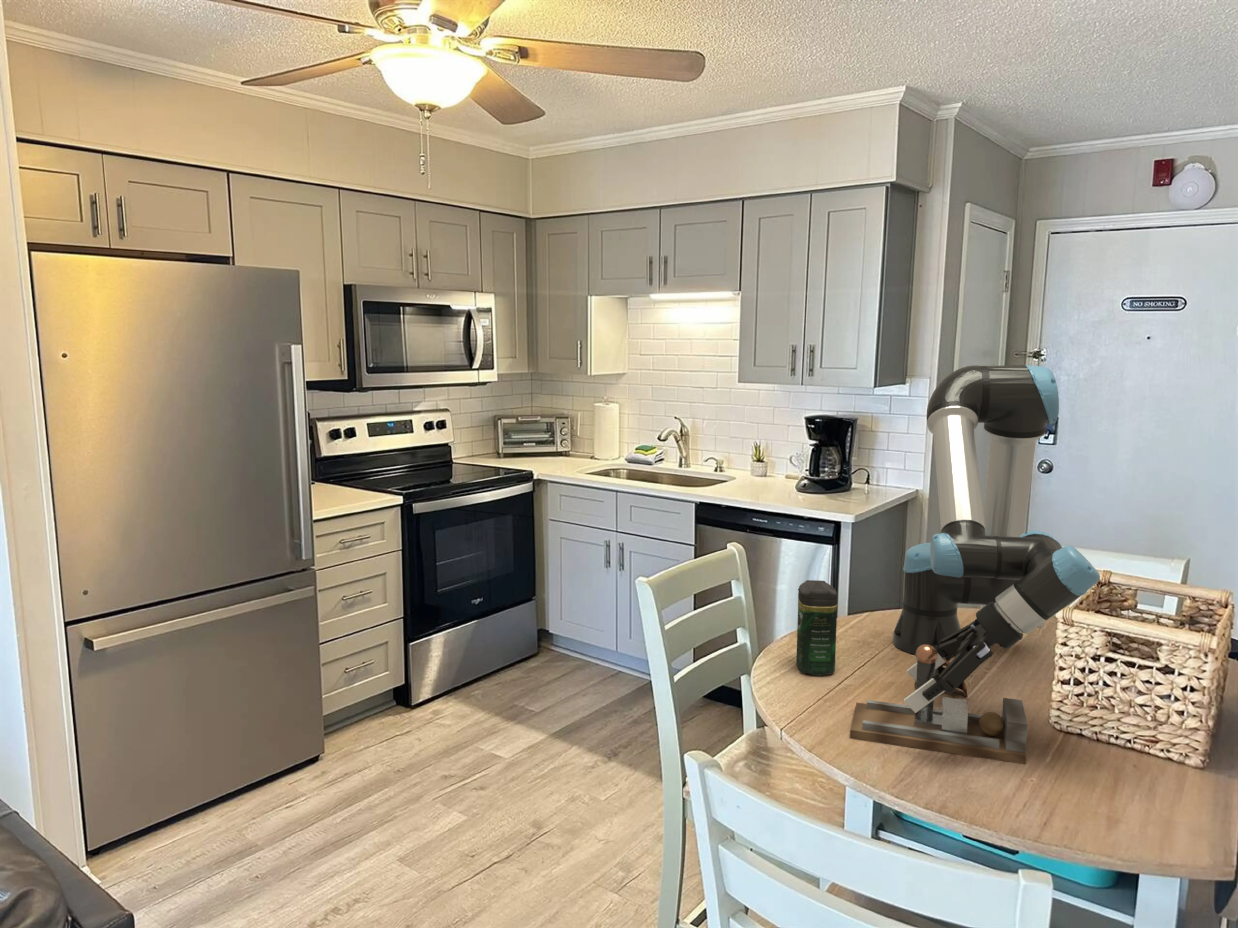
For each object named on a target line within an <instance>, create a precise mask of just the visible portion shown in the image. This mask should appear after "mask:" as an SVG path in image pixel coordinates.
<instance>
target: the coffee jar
mask: <svg viewBox="0 0 1238 928" xmlns="http://www.w3.org/2000/svg"><path fill="white" fill-rule="evenodd" d="M797 590H798V591H797V592H798V593H797V629H796V630H797V631H796V632H797V633H796V634H797V635H796V638H797V639H796V656H795V657H796V658H795V659H796V660H795V661H796V664H797V665H796V666H797V668H798V669H799V671H801V672H802V673H806V674H810V675H812V676H825V675H830V674H833V673H834V672H835V669H836V653H837V652H836V648H837V647H836V646H837V645H836V644H837V643H836V642H837V625H838V620H837V619H838V592H837V590H836V589H835V587H833V586H832V584H829V583H827V581H825V580H816V579H815V580H814V579H813V580H811V579H810V580H809V579H807V580H805V581H804V582H803V583H801V584H800V585H799V586H798V589H797Z"/></svg>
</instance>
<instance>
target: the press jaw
mask: <svg viewBox="0 0 1238 928" xmlns="http://www.w3.org/2000/svg"><path fill="white" fill-rule="evenodd" d="M915 657H916V661H917V662H916V663H917V678H916V690H917V689H918V688H920V687H921V686H923V685H924V684H925V683H927V682H928V681H929V680H931V679H932V676H933V675H935V663H936V660H937V657H938V654H937V651H936V649H935V648H934V647H933V646H931V645H928V644H924V645H921V646H919V647H918V649H917V650H916V654H915ZM916 690H915V691H916ZM941 700H942V701H941V702H942V703H941V710H942V715H936V714H933V709H934V704H935V703H934V701H935V699H934V700H933V701H931V702H930V703H929V704H927V705H926V706H925V707H923V708H922V709H920V710H919V711H918V712H916V713H915V721H914V727H916V728H923V729H930V730H937V731H944V732H951V733H958V734H965V735H967V724H968V713H969V711H968V702H967V701H968V700H967V699H962V698H961V699H960V698H952V697H945V696H943V697H942V699H941Z"/></svg>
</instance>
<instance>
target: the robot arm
mask: <svg viewBox="0 0 1238 928" xmlns="http://www.w3.org/2000/svg"><path fill="white" fill-rule="evenodd" d="M1059 413H1060V396H1059V389H1058V384H1057V380H1056V377H1055V375H1054V373H1053V371H1052V370H1051V369H1050V368H1049V367H1046V366H1043V365H1040V366H1039V365H1029V364H1017V365H1011V364H1010V365H979V364H978V365H977V364H976V365H967V366H963V367H959V368H958V369H956V370H954V371H952V372H951V373H949V374H948V375H946V377H944V378H943V379H942V380H941V381H940V383H939V384H938V385H937V386H936V388H935V389H934V390H933V392H932V394H931V396H930V398H929V400H928V403H927V408H926V426H927V429H928V431H929V432H930V433H931V434H933V435H932V436H933V445H934V446H933V447H934V460H935V471H936V473H935V474H936V484H937V485H936V486H937V497H938V498H937V499H938V508H939V511H938V512H939V520H940V521H939V522H940V533H935V534H933V535H932V537H931V541H930V542H925V543H919V544H916V545H913V546H911V547H910V548H908V550H906V552H905V554H904V555H905V556H904V562H903V563H904V564H903V568H902V571H903V572H904V573H903V586H902V606H901V607H902V608H901V609H902V610H901V612H900V615H899V617H898V620H897V622H896V625H895V627H894V630H893V634H892V643H893V645H894V646H895V647H896V648H897V649H899V650H901V651H904V652H906V653H909V654H912V655H916V650H917V649H918V647H919V646H921V645H924V644H928V645H931V646H933V647H934V648H935V649H936V651H937V654H938V657H937V660H936V663H935V669H937V668H938V667H939V666H941V665H942V664H943V663H945V660H947V661H948V662H950V663H949V665H948V666H947V667H946V666H945V667H944V668H945V669H944V670H943V671H942V672H941V674H940V675H939V676H938V675H937V674H936V675H933V676H932V679H931V680H929V681H928V682H927V683H925V684H924V685H923V686H921V687H920V688H918V689H917V690H914V691H913V692H912V693H910V694H909V695H908V696H906V697H905V698H903V702H904V703H905V705H908V706H909V707H910V708H911V709H912V710H913V711H914V712H915V713H916V712H918V711H919V710H920V709H922V708H923V707H925V706H926V705H927V704H929V703H930V702H931V701H933V700H934V701H935V700H936V699H937V698H939V696H941V695H942V694H944V693H945V692H946V693H948V694H949V695H950V694H952V693H954V692H955V690H957V689H958V688H957V687H958V686H959V685H960V684H961V683H962V682H965V681H966V680H967V679H968V678H969V677H970V676H971V675H972V674H973V673H974V672H975V671H976V670H977V669H978V668H979V667H980V666H981V665H982V664H983V663H985V662H986V661H987V660H988V659H990V658H991V657H992V656H993V654H994V652H993V651H992V650H991V648H992V647H993V646H994V645H995V644H996V645H999V647H1001V648H1003V649H1010V648H1011V647H1013V646H1014V645H1016V644H1017V643H1018V642H1020V641H1021V640H1022V639H1023V636H1024V634H1027V635H1029V633H1031V632H1032V631H1034V630H1035V629H1037V628H1039V629H1042V628H1043V627H1044V625H1045V624H1044V623H1045V622H1046V621H1048V620H1050V618H1052V617H1053V616H1055V615H1056V614H1058V613H1059V612H1060V611H1062V610H1064V609H1065V608H1066V607H1067V606H1070V605H1071V604H1072V603H1073V602H1075V601H1077V599H1079V598H1081V597H1082V596H1084V595H1086V593H1088V591H1089V590H1091V589H1092V587H1094V586H1095V585H1097V584H1098V583H1099V581H1100V580H1101V575H1100V573H1099V571H1098V570H1097V569H1096V568H1095V567H1094V565H1092V563H1091V562H1090V561H1089V560H1088V559H1087V558H1086V557H1085V556H1084V555H1083V554H1082V553H1081V551H1079V550H1078V549H1077V548H1075V547H1074V546H1073V545H1065V546H1062V545H1061V543H1060V542H1059V541H1058V540H1057V539H1055V538H1054V537H1053V536H1052V535H1051V534H1049V533H1047V532H1045V531H1041V530H1030V531H1026V524H1027V515H1028V507H1029V498H1030V493H1031V486H1032V485H1031V483H1032V475H1033V468H1034V462H1035V461H1034V459H1035V452H1036V443H1037V441H1038V440H1039V439H1040V438H1042V437H1044V436H1045V435H1046V430H1047V425H1049V426H1050V425H1053V424H1055V423H1056V422H1057V421H1058V418H1059V415H1060V414H1059ZM979 423H982V424H983V423H984V424H983V430H984V431H985V432H986V434H987V435H988V436H989V437H990V442H989V443H990V444H989V451H988V461H987V471H986V479H985V480H986V481H985V487H984V488H985V489H984V498H983V499H982V489H981V482H980V481H981V480H980V473H979V471H980V470H979V464H978V455H977V454H978V453H977V446H976V445H977V444H976V439H975V437H976V436H975V429H976V428H977V427H978V424H979ZM959 604H963V605H979V606H983V607H981V608H980V609H979V610H977V612H976V613H975V619H974V620H973V621H972V622H970V623H968V624H967V625H966V626H964V627H962V628H961V625H960V622H959V621H960V620H959V618H958V617H959V616H958V605H959ZM943 658H944V659H945V660H944V659H943ZM952 658H953V659H952ZM906 672H907V674H908V675H909V676H910V677H911V678H912V679H913V680H914V682H915V681H916V678H917V662H916V663H914V664H913V665H912V666H911V667H909V668H908V669H906ZM947 680H948V681H947Z"/></svg>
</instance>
